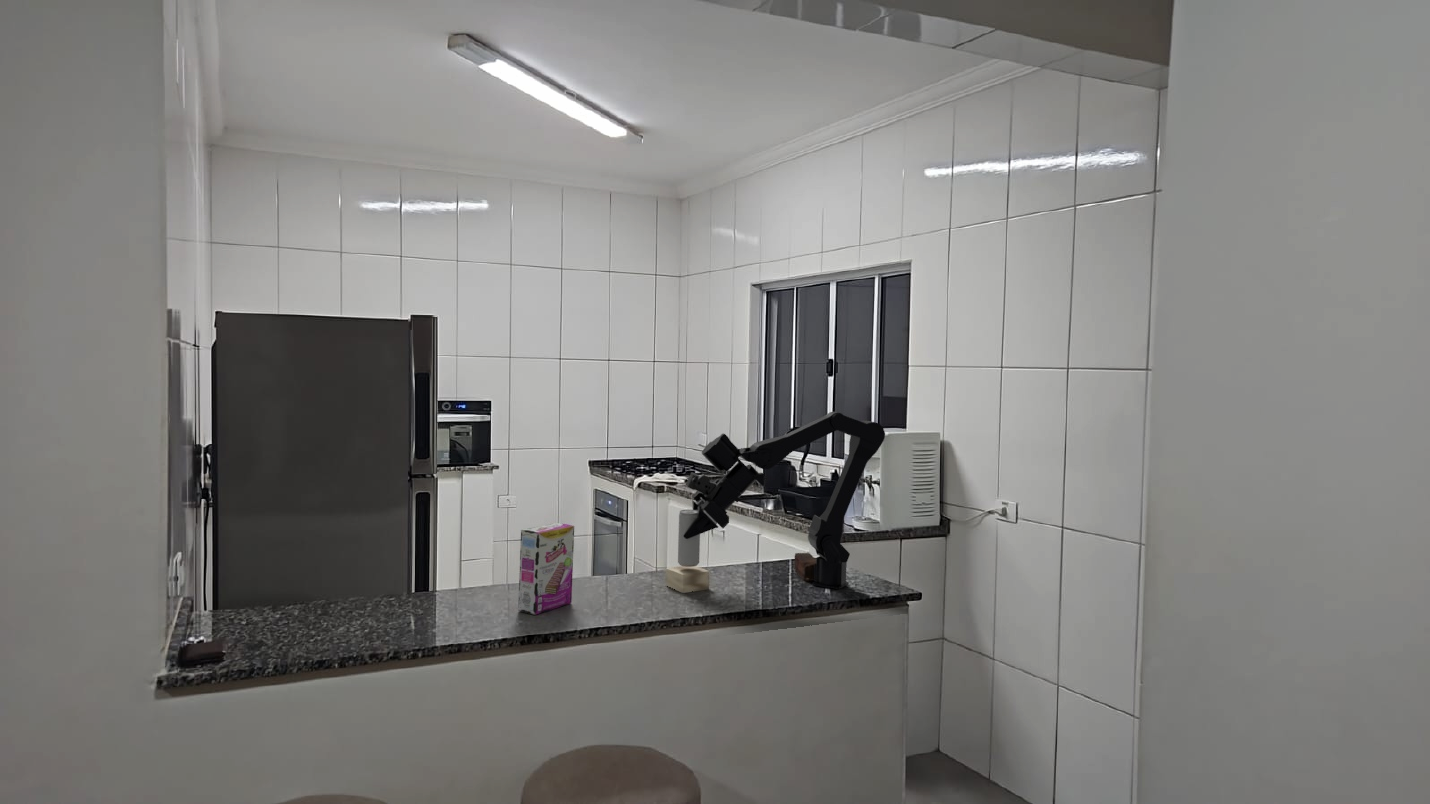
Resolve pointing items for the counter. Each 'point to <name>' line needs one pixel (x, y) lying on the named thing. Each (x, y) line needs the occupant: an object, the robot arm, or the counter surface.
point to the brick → (805, 566)
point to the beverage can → (688, 540)
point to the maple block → (687, 578)
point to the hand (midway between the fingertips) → (683, 535)
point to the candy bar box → (546, 568)
